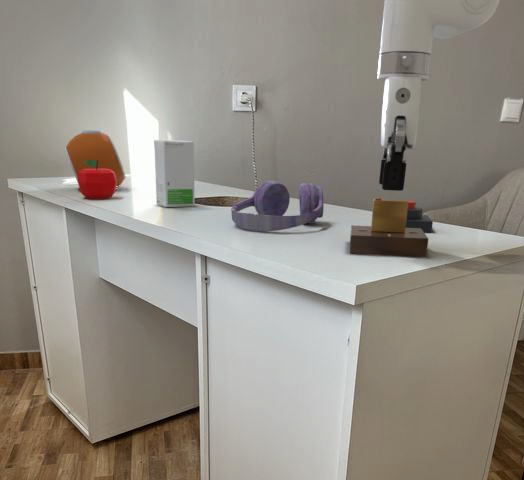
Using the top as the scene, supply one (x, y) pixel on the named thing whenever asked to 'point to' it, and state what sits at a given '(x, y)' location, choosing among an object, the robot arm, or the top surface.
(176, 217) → the top surface
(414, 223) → the block
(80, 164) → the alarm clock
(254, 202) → the headphones
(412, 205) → the bell button
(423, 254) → the plate
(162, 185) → the cosmetic box
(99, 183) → the apple
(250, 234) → the top surface
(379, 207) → the lock knob
